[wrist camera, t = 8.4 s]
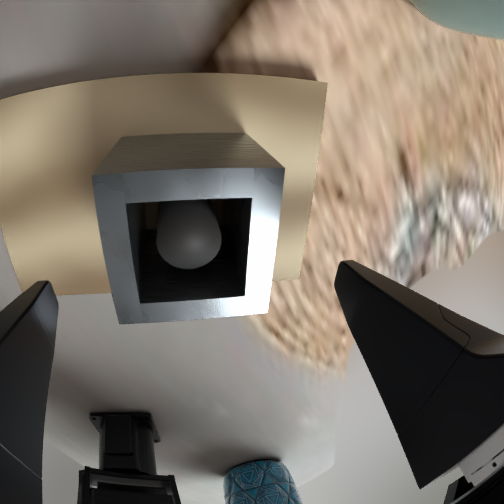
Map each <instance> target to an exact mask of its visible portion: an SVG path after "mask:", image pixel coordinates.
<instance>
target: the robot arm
mask: <svg viewBox="0 0 504 504" xmlns="http://www.w3.org/2000/svg"><path fill="white" fill-rule="evenodd" d="M334 287H335V290H336V293H337V296H338V299H339V301H340V304H341V307H342V310H343V313H344V315H345V318H346V321H347V324H348V326H349V328H350V331H351V333H352V335H353V337H354V339H355V341H356V343H357V345H358V348H359V349H360V352H361V354H362V356H363V358H364V360H365V362H366V365H367V367H368V369H369V371H370V373H371V375H372V378H373V380H374V382H375V384H376V387H377V388H378V391H379V393H380V395H381V398H382V400H383V402H384V405H385V407H386V409H387V411H388V414H389V416H390V418H391V421H392V423H393V425H394V428H395V430H396V432H397V434H398V438H399V440H400V442H401V445H402V447H403V450H404V452H405V454H406V457H407V459H408V462H409V464H410V467H411V469H412V472H413V475H414V477H415V479H416V482H417V485H418V487H419V489H422V488H424V487H426V486H428V485H429V484H431V483H433V482H435V481H436V480H438V479H439V478H441V477H443V476H445V475H446V474H448V473H450V472H451V471H453V470H454V469H456V468H457V467H460V469H461V471H462V473H463V474H464V476H462V477H461V478H459V479H458V480H456V481H455V482H453V483H452V484H450V485H449V486H448V490H447V494H446V497H445V501H444V504H504V335H502V334H499V333H497V332H495V331H493V330H491V329H488V328H487V327H484V326H482V325H480V324H478V323H476V322H474V321H471V320H469V319H467V318H465V317H463V316H460V315H459V314H457V313H455V312H453V311H451V310H449V309H447V308H445V307H443V306H442V305H440V304H437V303H436V302H434V301H432V300H430V299H428V298H426V297H424V296H422V295H420V294H419V293H417V292H414V291H413V290H411V289H409V288H407V287H405V286H403V285H401V284H399V283H397V282H395V281H393V280H391V279H389V278H387V277H385V276H383V275H381V274H379V273H377V272H375V271H373V270H371V269H369V268H367V267H365V266H363V265H361V264H359V263H357V262H355V261H353V260H346V261H341V262H340V263H339V266H338V270H337V274H336V278H335V282H334ZM57 317H58V301H57V298H56V295H55V293H54V290H53V287H52V284H51V282H50V281H48V280H42V281H37V282H36V283H34V284H33V285H32V286H31V287H29V288H28V289H27V290H26V291H24V292H23V293H22V294H21V295H20V296H18V297H17V298H16V299H15V300H14V301H12V302H11V303H10V304H9V305H8V306H6V307H5V308H4V309H3V310H2V311H1V312H0V504H42V479H41V478H42V451H43V435H44V422H45V412H46V403H47V395H48V387H49V380H50V374H51V368H52V362H53V356H54V348H55V337H56V327H57ZM89 418H90V420H91V422H92V423H93V425H94V426H95V427H96V429H97V430H98V432H99V433H100V439H99V469H95V468H90V467H88V466H85V470H80V471H79V488H78V500H77V504H181V501H180V498H179V494H178V490H177V486H176V482H175V478H174V475H168V476H164V475H157V473H156V463H155V452H154V443H158V442H160V441H161V440H160V436H159V433H158V431H157V428H156V426H155V423H154V420H153V418H152V415H151V414H150V413H90V415H89ZM92 485H93V486H97V488H93V487H92Z"/></svg>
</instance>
